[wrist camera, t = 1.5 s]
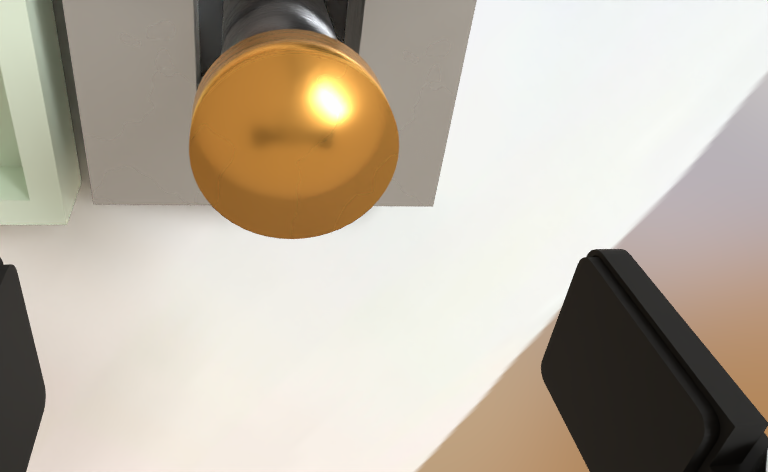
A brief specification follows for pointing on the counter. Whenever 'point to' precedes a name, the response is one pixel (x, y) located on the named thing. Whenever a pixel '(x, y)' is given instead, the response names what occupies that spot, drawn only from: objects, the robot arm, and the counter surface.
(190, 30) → the grey slotted block
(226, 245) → the counter surface
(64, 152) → the tray
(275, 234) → the pin
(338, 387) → the counter surface
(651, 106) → the counter surface
